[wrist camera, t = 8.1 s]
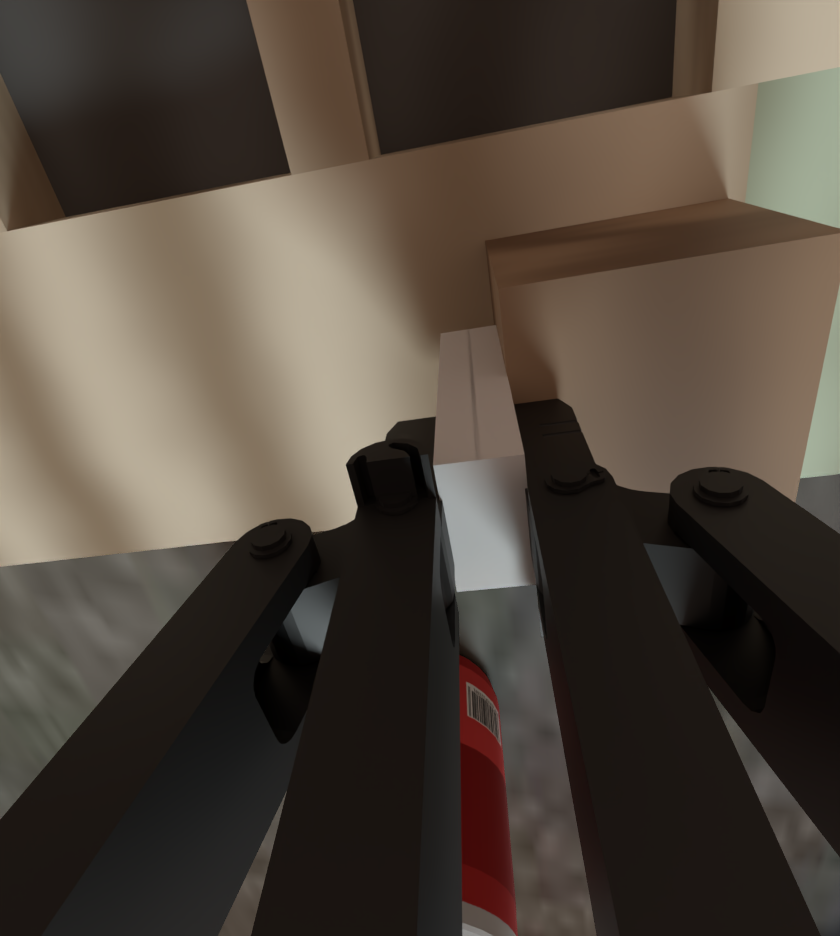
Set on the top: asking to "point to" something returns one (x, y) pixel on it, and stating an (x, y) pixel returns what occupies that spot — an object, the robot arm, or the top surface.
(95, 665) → the top surface
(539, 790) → the top surface
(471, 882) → the canned food
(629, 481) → the walnut block
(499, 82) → the trap deck
